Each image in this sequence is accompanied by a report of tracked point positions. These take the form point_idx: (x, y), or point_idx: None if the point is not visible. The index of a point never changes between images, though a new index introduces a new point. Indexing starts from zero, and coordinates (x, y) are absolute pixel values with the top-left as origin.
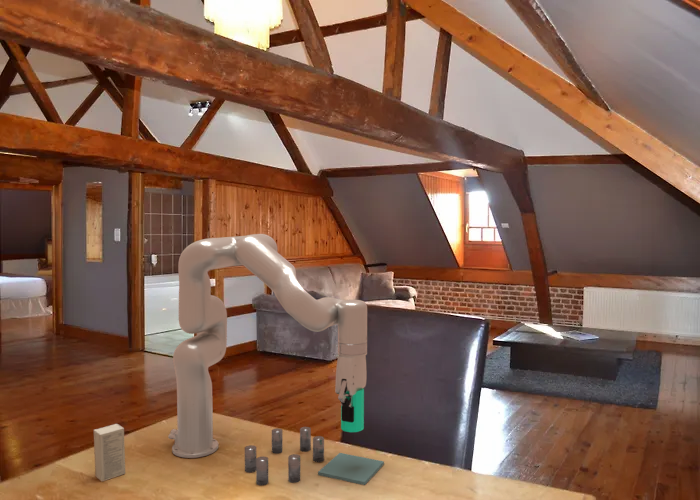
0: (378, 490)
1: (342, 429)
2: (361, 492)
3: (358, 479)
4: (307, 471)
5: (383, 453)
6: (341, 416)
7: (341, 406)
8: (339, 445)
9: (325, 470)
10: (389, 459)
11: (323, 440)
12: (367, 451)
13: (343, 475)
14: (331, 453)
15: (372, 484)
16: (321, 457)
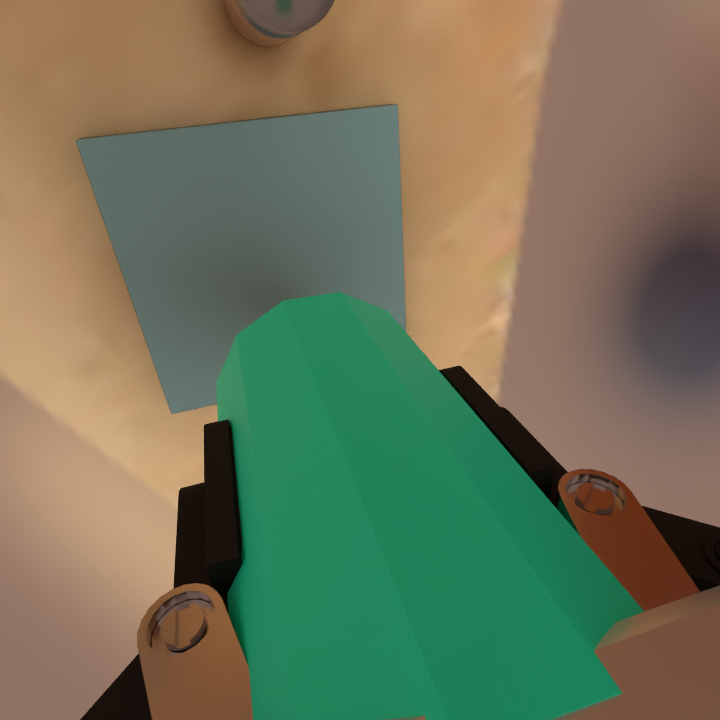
0: (174, 465)
1: (230, 354)
2: (103, 430)
3: (172, 379)
4: (66, 33)
5: (505, 292)
6: (243, 409)
7: (258, 495)
8: (521, 11)
9: (129, 173)
10: (457, 345)
11: (295, 32)
12: (500, 215)
13: (155, 298)
14: (396, 30)
15: (203, 421)
16: (253, 40)
